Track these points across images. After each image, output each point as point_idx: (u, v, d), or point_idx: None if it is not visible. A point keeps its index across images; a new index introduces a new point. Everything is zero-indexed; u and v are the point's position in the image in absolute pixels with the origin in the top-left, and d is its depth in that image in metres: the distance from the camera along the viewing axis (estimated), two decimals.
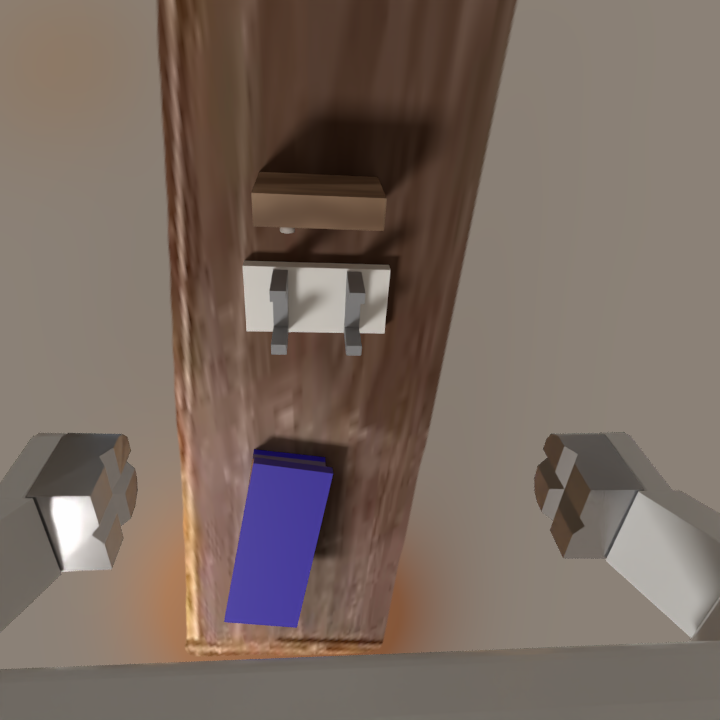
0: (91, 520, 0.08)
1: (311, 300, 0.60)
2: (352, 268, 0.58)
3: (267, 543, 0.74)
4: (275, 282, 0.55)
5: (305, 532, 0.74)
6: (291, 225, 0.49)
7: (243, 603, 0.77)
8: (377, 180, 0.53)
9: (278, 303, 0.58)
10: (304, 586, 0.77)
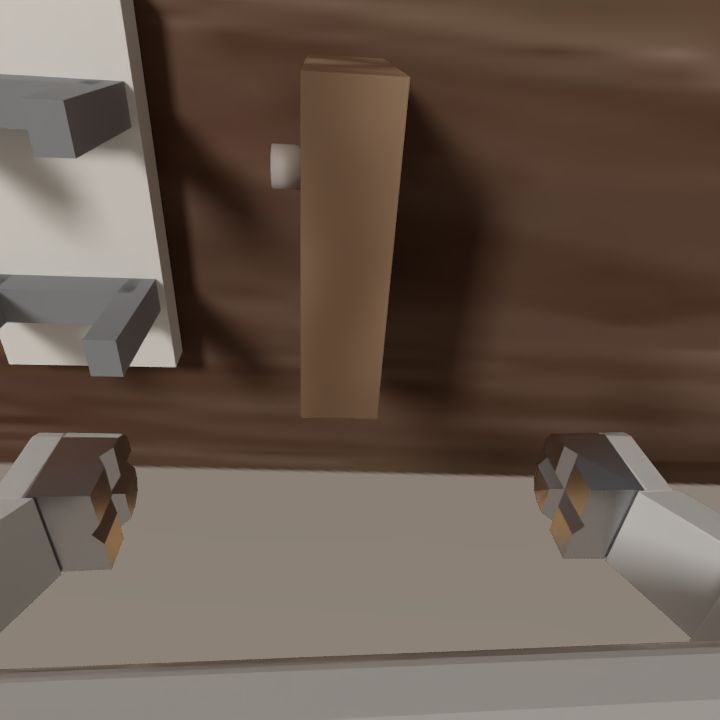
0: (91, 519, 0.08)
1: (51, 191, 0.22)
2: (165, 289, 0.25)
3: None
4: (93, 108, 0.17)
5: None
6: (307, 199, 0.16)
7: None
8: None
9: (15, 99, 0.19)
10: None
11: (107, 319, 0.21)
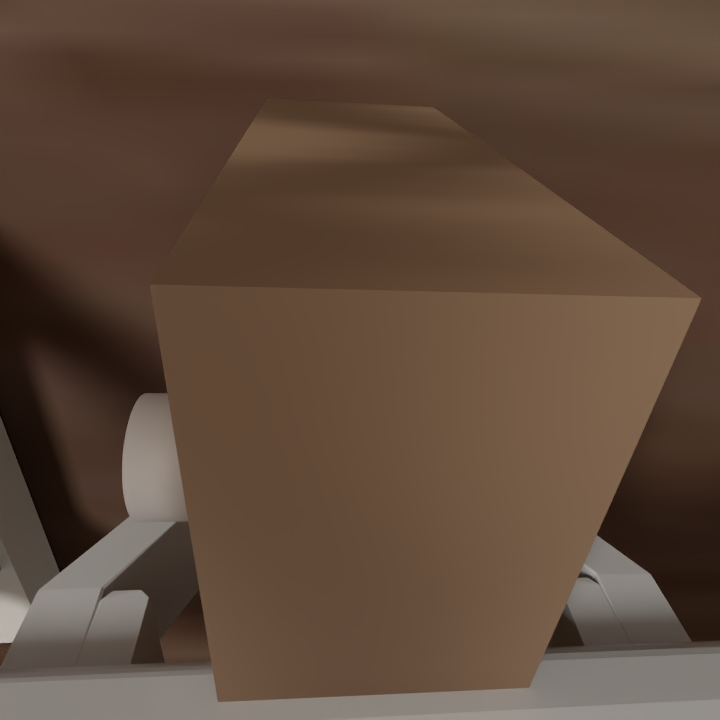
0: None
1: None
2: (6, 535, 0.13)
3: None
4: None
5: None
6: (235, 658, 0.05)
7: None
8: None
9: None
10: None
11: None
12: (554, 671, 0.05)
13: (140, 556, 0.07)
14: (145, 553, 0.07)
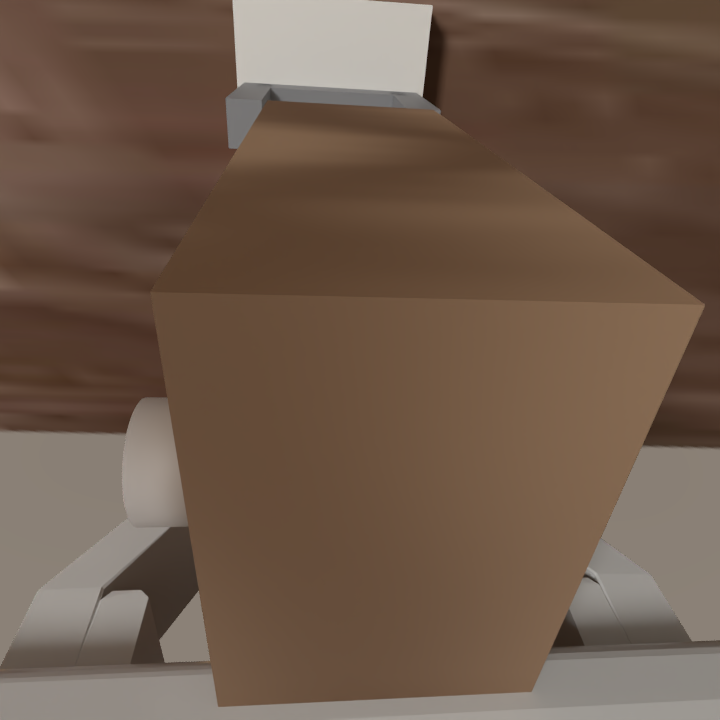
0: None
1: None
2: None
3: None
4: None
5: None
6: (235, 665, 0.05)
7: None
8: None
9: None
10: None
11: None
12: (554, 671, 0.05)
13: (140, 556, 0.07)
14: (145, 553, 0.07)
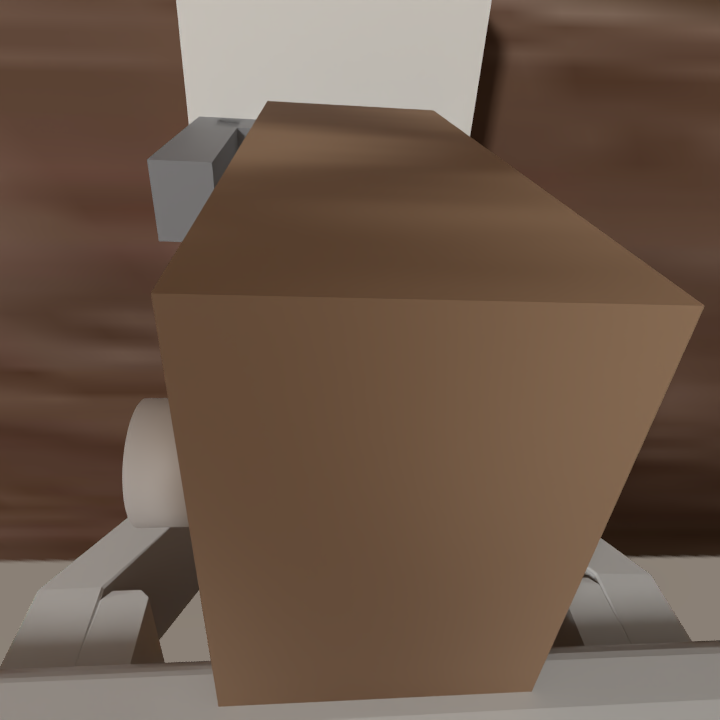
0: None
1: None
2: None
3: None
4: None
5: None
6: (236, 665, 0.05)
7: None
8: None
9: None
10: None
11: None
12: (554, 671, 0.05)
13: (140, 556, 0.07)
14: (145, 553, 0.07)
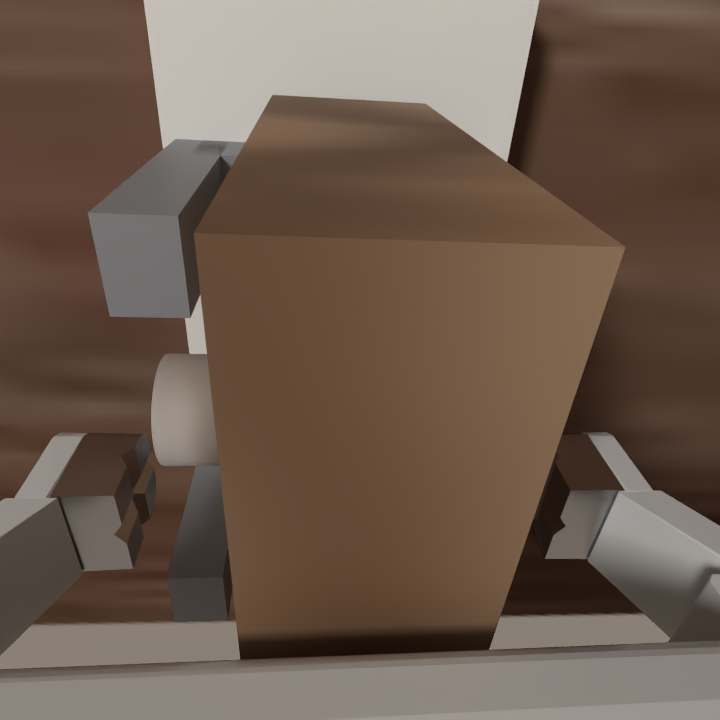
0: (113, 519, 0.08)
1: None
2: None
3: None
4: None
5: None
6: (251, 569, 0.05)
7: None
8: None
9: None
10: None
11: None
12: (554, 671, 0.05)
13: None
14: None
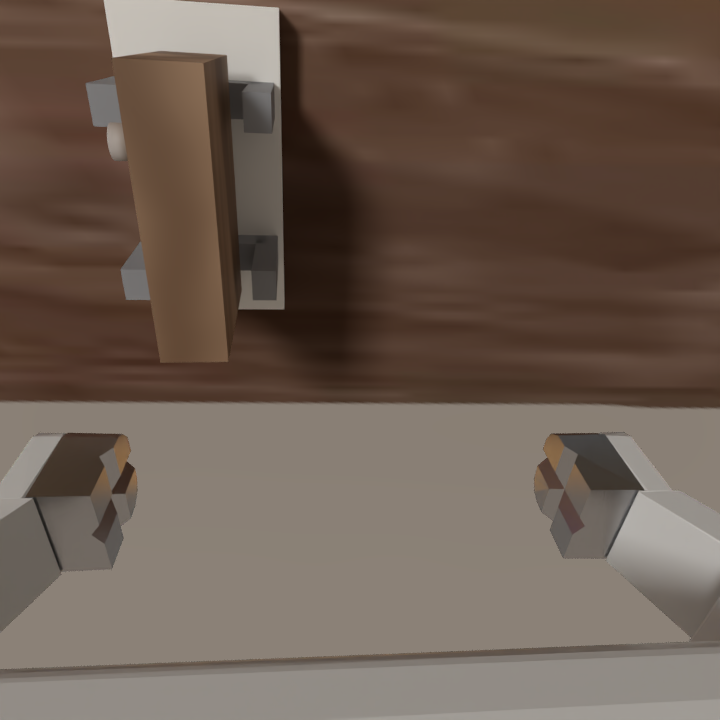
0: (91, 519, 0.08)
1: None
2: (283, 244, 0.32)
3: None
4: (272, 100, 0.24)
5: None
6: (134, 166, 0.20)
7: None
8: (239, 298, 0.30)
9: None
10: None
11: (260, 259, 0.28)
12: (554, 671, 0.05)
13: None
14: None
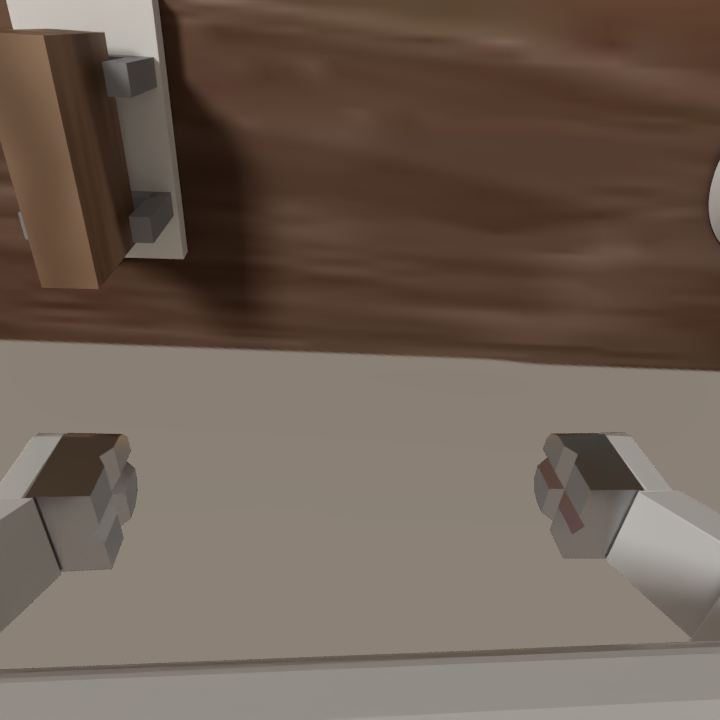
0: (90, 519, 0.08)
1: None
2: (177, 200, 0.37)
3: None
4: (138, 70, 0.29)
5: None
6: None
7: None
8: (132, 244, 0.35)
9: None
10: None
11: (142, 208, 0.33)
12: (554, 671, 0.05)
13: None
14: None
